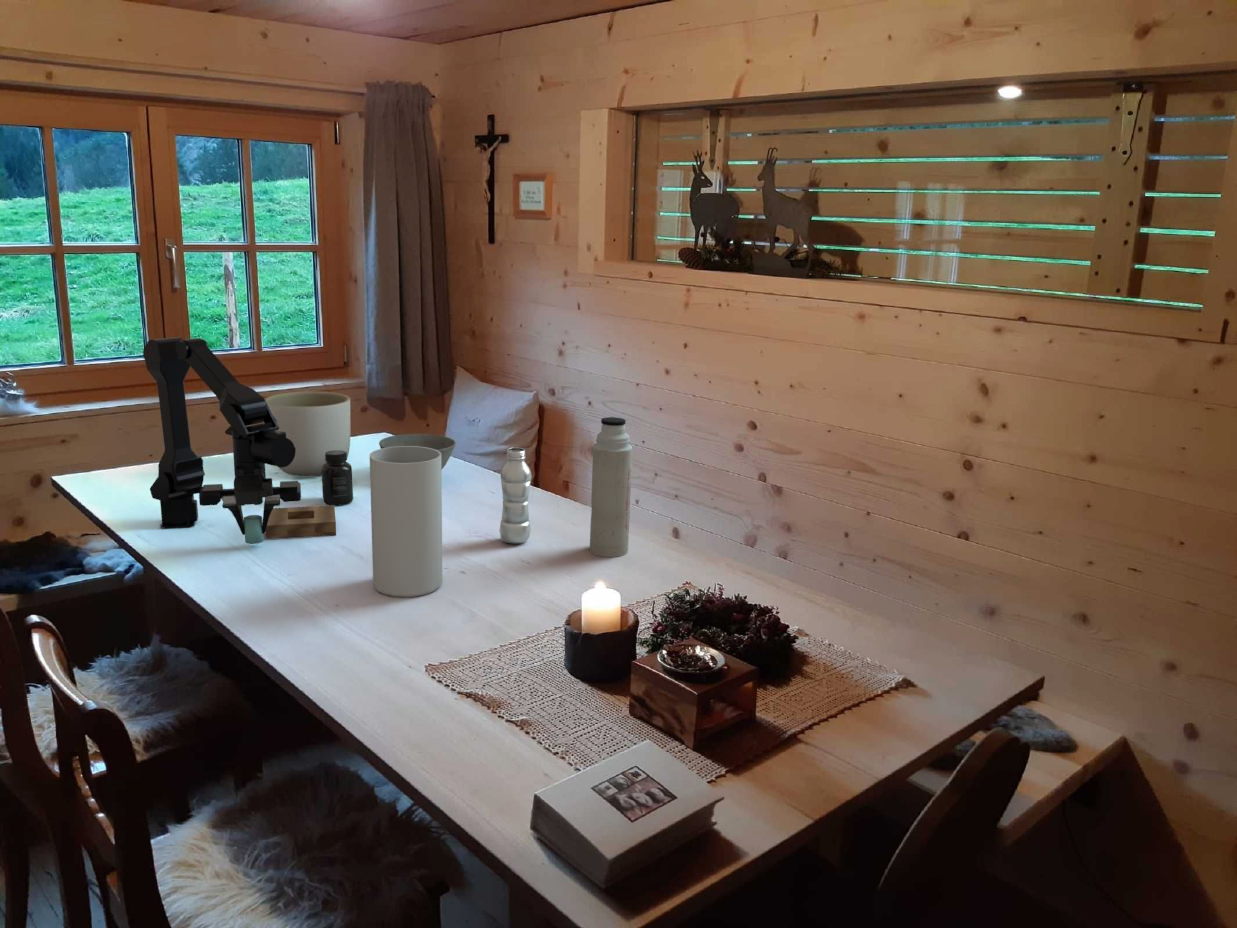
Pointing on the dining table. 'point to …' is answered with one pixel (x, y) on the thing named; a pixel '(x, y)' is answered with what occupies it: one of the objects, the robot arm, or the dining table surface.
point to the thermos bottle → (611, 489)
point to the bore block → (301, 522)
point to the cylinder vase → (406, 520)
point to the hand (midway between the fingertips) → (253, 533)
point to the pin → (253, 529)
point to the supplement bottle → (337, 479)
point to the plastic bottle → (515, 498)
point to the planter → (312, 427)
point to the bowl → (422, 443)
